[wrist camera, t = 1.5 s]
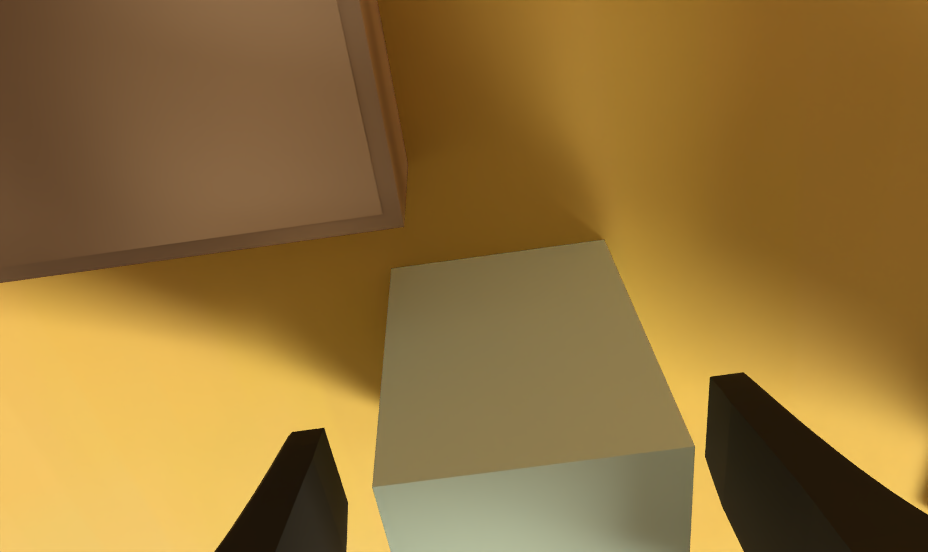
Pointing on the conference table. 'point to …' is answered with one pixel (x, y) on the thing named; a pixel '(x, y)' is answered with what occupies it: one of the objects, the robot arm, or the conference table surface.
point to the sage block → (527, 411)
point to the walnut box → (191, 129)
